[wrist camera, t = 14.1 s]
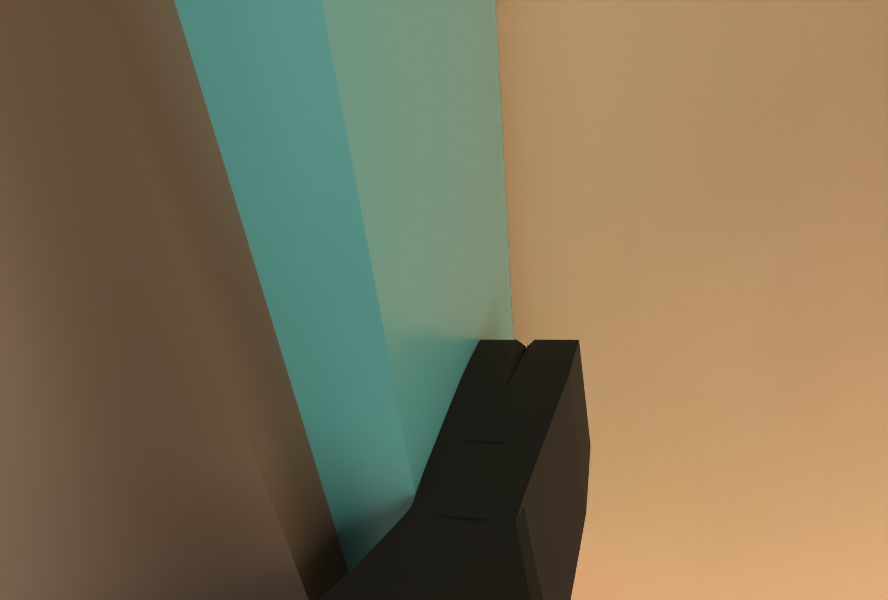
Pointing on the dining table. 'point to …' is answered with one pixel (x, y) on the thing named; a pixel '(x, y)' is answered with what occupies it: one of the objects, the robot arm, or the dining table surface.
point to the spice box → (137, 333)
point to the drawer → (365, 218)
